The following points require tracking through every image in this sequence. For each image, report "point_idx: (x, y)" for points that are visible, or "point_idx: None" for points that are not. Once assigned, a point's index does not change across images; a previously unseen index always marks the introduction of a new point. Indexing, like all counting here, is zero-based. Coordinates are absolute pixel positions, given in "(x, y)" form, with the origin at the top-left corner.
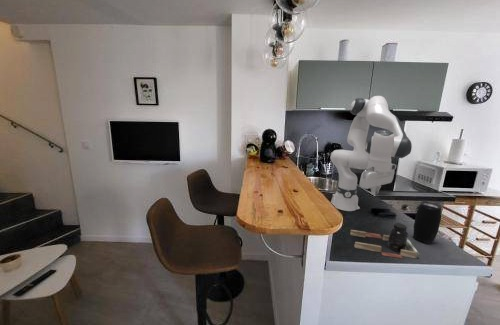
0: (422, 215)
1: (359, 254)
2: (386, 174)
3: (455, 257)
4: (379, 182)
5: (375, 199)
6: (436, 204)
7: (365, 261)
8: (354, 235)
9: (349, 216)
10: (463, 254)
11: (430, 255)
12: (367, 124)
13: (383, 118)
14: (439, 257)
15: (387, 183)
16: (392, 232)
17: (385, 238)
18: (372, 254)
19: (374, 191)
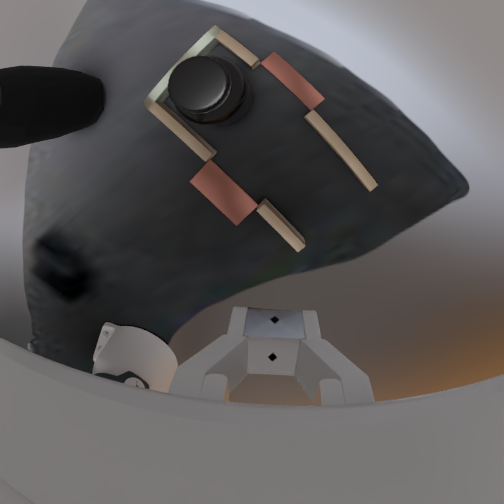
0: (33, 102)
1: (392, 149)
2: None
3: (107, 13)
4: (311, 475)
5: (32, 319)
6: None
7: (408, 119)
8: (294, 228)
9: (179, 315)
10: (76, 22)
11: (159, 31)
12: None
13: None
14: (146, 19)
15: (38, 356)
16: (243, 100)
17: (209, 147)
18: (352, 121)
19: (326, 343)
